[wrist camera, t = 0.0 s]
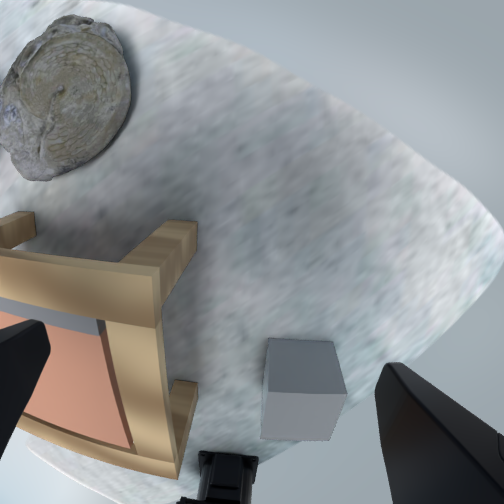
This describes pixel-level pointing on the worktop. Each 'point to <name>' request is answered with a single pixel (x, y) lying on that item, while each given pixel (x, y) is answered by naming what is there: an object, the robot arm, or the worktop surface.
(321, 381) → the grey block
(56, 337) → the trapdoor
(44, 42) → the fossilized seashell
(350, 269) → the worktop surface
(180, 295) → the worktop surface
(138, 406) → the trapdoor frame
